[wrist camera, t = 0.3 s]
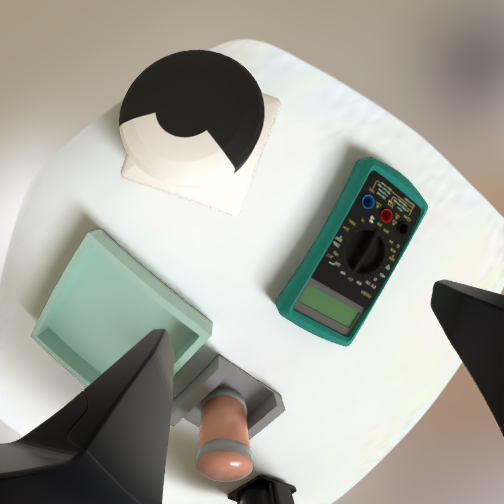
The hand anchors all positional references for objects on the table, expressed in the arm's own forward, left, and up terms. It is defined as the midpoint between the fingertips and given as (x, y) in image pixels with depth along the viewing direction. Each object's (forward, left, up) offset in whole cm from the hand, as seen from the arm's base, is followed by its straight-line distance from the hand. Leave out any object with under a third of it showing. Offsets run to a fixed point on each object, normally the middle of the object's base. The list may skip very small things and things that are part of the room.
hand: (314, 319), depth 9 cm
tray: (-13, +5, -15) cm, 20 cm away
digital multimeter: (+5, -6, -16) cm, 17 cm away
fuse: (-13, -7, -14) cm, 21 cm away
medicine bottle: (+3, +8, -15) cm, 17 cm away
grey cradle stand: (-13, -7, -15) cm, 21 cm away
